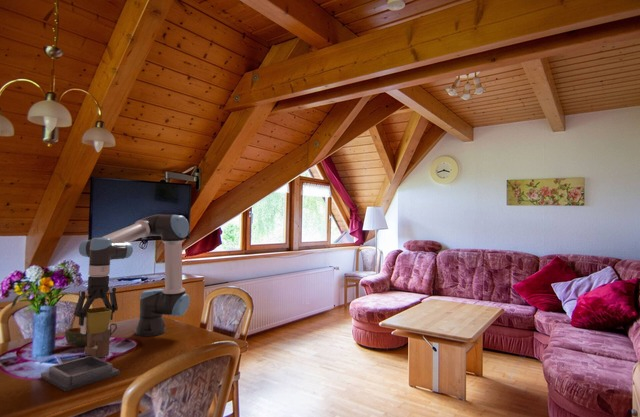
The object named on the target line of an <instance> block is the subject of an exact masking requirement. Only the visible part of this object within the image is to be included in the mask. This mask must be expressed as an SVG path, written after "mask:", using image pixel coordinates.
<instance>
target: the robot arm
mask: <svg viewBox="0 0 640 417" xmlns="http://www.w3.org/2000/svg"><path fill="white" fill-rule="evenodd" d="M189 232H190V223H189V221H188V219H187V218H186V217H185V216H184V215H179V214H159V213H158V214H153V215H149V216H147V217H143V218H142V219H139V220H136V221H135V222H134V223H133V224H131V225H129V226H126V227H124V228H120V229H118V230H115V231H113V232H111V233H109V234H106V235H104V236H101V237H93V238H91V239H85V240H83V241H81V242H80V243H79V246H78V251H79V252H78V253H79V254H80V255H81V256H82V257H84V258H85V257H86V258H89V264H88V277H87V278H88V279H87V288H86V290H85V289H84V290H79V291H78V296H79V297H78V300H77V303H76V307H75V310H74V313H73V316H74V317H77V318H78V325H79V326H80V328H81V332H80V333H82V334H86V323H87V317H85V315H86V313H87V311H88V310H89V309H90V308H91V305H92V304H93V302H94V301H95V300H97V299H101V301H102V302H103V304H104V307H106V308H108V309H110V310H112V313H111V319H110V323H109V325H108V327H107V329H110V324H112V323H111V321H113V317H114V316H113V315H114V313H115V311H118V310H119V308H118V307H119V306H118V301H117V296H116V293H117V292H116V291H117V288H116V287H114V286H111V287H110V286H109V284H110V276H109V275H110V269H111V268H110V266H111V261H112V260H113V261H114V260H123V259H129V258H130V257H131V256H132V255H133V251H134V248H133V247H134V246H133V244H132V243H131V242H133V241H136V240H139V239H140V238H141V239H143V238H144V239H145V238H147V237H160V238H161V242H162V243H163V244H164V278H165V279H164V285H165V286H164V288H153V289H147V290H144V291H142V292H141V294H140V298H139V320H138V322H137V325H136V327H135V330H134V332H135V333H134V334H135V335H136V336H141V337H152V336H153V337H155V336H159V335H162V334H164V333H165V332H166V325H165V321H164V318H163V316H164V315H166V316H172V317H181V316H183V315H185V314H186V312H187V311H188V310H189V306H190V304H191V297H190V295H189V294H188V293H186V288H184V287H183V248H182V247H183V246H182V243H183V242H184V241H185V239H186V237H187V236H188V235H189ZM107 293H109V297H108V295H107ZM87 294H88V295H87ZM86 296H87V298H86ZM109 298H110V299H109ZM85 300H86V301H85ZM109 300H110V301H109Z"/></svg>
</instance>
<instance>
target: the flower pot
mask: <svg viewBox="0 0 640 417" xmlns="http://www.w3.org/2000/svg"><path fill="white" fill-rule="evenodd" d="M111 313H112V310H110V309H108V308H106V306H100V307H99V306H98V307H90V308H89V310H88V311H87V313H86V315H85V317H87V323H86V331H87V332H89V333H90V334H94V333H101V332H104V331H105V330H106V329H107V327H108V325H109V323H110V319H111ZM110 324H111V323H110Z"/></svg>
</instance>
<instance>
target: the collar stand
mask: <svg viewBox="0 0 640 417" xmlns="http://www.w3.org/2000/svg"><path fill="white" fill-rule="evenodd" d="M48 370H49V371H45V372H41V373H40V378H41V379H43V380H44V381H46V382H47V383H49V384H51V385H53V386H55V387H56V388H58V389H60V390H62V391H64V392H65V393H66V392H69V391H72V390H74V389H77V388H81V387H84V386H87V385H90V384H93V383H96V382H99V381H103V380H106V379H109V378H112V377H115V376H118V375H120V374H121V372H120V371H121V370H120V369H117V368H115V367H113V363H111V362H109V361H107V360H104V359H103V358H100V357H95V356H90V355H87V356H85V357H81V358H76V359H73V360H69V361H65V362H60V363H58V364H54V365H53V364H52V365H51V366H49V368H48Z"/></svg>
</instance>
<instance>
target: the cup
mask: <svg viewBox="0 0 640 417" xmlns="http://www.w3.org/2000/svg"><path fill="white" fill-rule="evenodd" d="M112 326H114V327H115V328H114V329H113V330H112ZM117 328H118V324H117V323H115V322H112V323H110V337H112V335H113V334H114V333H115V332H116V331H117ZM80 332H81V327H73V328H66V329H65V331H64V337H65V340H66V342H67V344H69V346H70V347H71V348H73V347H75V348H74V349H85V347H86V346H87V334H88V332H87V331H86V334H82V333H80ZM96 346H97V341H96Z"/></svg>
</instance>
